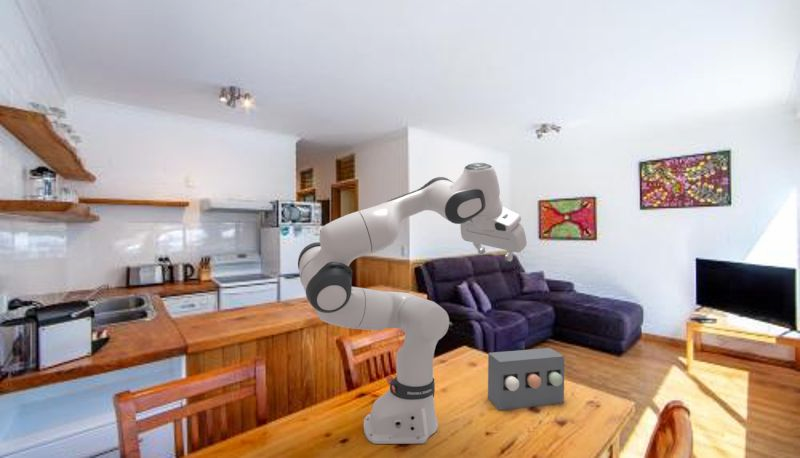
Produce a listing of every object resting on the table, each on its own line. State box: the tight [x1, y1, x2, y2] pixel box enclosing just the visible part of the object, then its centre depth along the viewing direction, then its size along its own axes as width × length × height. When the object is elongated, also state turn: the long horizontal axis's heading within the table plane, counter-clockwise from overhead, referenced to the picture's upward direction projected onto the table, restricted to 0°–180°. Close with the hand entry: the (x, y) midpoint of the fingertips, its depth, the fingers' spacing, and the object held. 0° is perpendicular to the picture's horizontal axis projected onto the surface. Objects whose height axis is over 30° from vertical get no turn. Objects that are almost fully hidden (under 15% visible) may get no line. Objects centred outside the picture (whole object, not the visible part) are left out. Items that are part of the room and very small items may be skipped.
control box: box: [487, 347, 565, 411], centre depth 120 cm, size 24×8×16 cm, turn 102°
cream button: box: [504, 376, 519, 391], centre depth 114 cm, size 4×2×4 cm, turn 102°
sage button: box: [548, 371, 563, 386], centre depth 117 cm, size 4×2×4 cm, turn 102°
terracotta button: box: [526, 373, 541, 389], centre depth 115 cm, size 4×2×4 cm, turn 102°
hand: (495, 256), depth 106 cm, fingers open, 8 cm apart
